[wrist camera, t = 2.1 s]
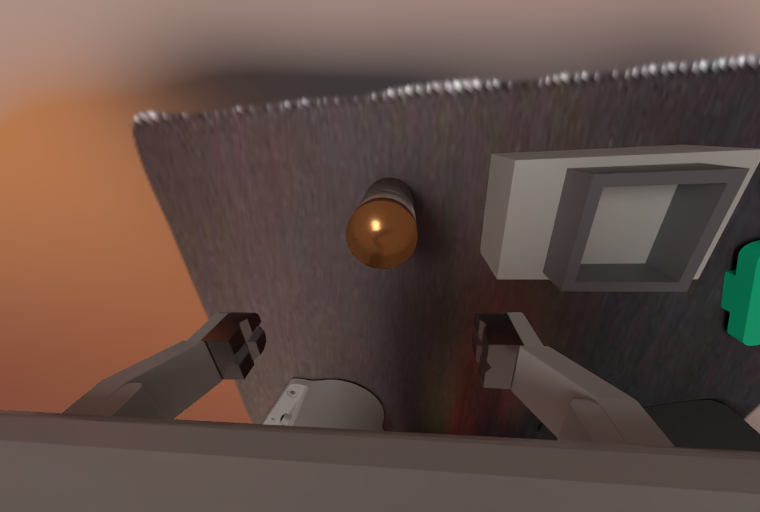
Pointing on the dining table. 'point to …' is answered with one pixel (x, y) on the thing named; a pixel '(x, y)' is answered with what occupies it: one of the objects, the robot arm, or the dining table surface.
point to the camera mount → (744, 296)
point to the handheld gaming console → (697, 426)
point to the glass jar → (383, 225)
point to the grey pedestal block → (611, 214)
